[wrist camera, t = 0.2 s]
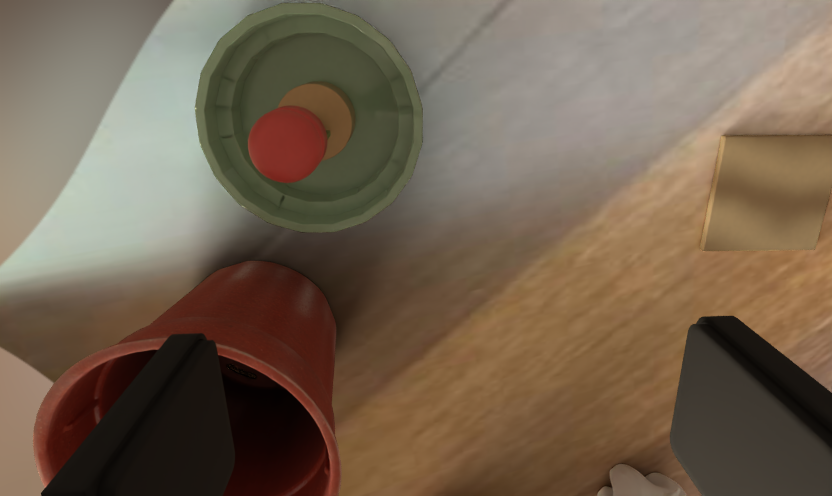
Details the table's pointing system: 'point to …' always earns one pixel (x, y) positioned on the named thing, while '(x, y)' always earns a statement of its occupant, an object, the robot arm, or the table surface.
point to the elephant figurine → (639, 484)
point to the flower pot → (227, 380)
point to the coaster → (768, 193)
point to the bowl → (296, 65)
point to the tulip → (301, 132)
